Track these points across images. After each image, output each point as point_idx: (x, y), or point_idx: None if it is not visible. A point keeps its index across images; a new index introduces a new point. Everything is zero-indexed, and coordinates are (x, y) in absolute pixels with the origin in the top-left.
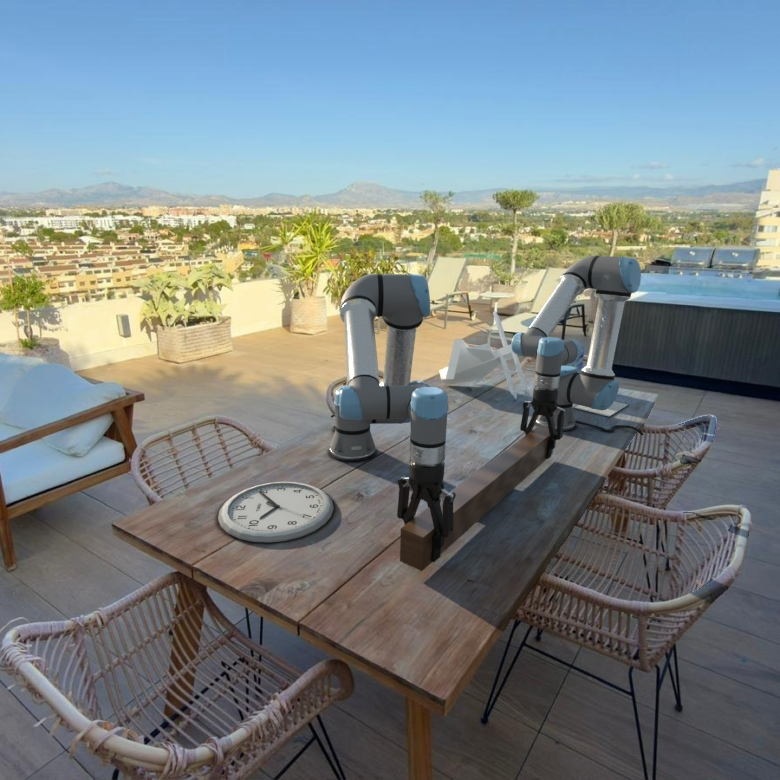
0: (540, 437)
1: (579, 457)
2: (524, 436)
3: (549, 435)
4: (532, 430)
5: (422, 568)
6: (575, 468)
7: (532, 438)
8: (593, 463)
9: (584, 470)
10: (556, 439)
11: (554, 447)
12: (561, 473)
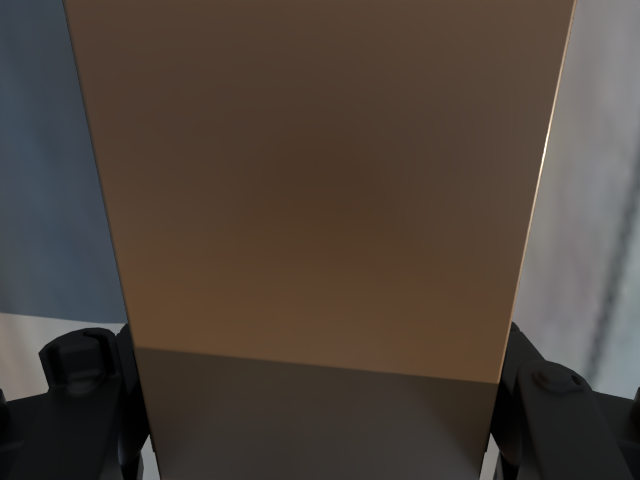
0: (219, 245)
1: (142, 458)
2: (563, 49)
3: (154, 437)
4: (482, 459)
5: None
6: (71, 308)
7: (340, 58)
8: None
9: (13, 315)
10: (36, 399)
11: None
12: (93, 168)
